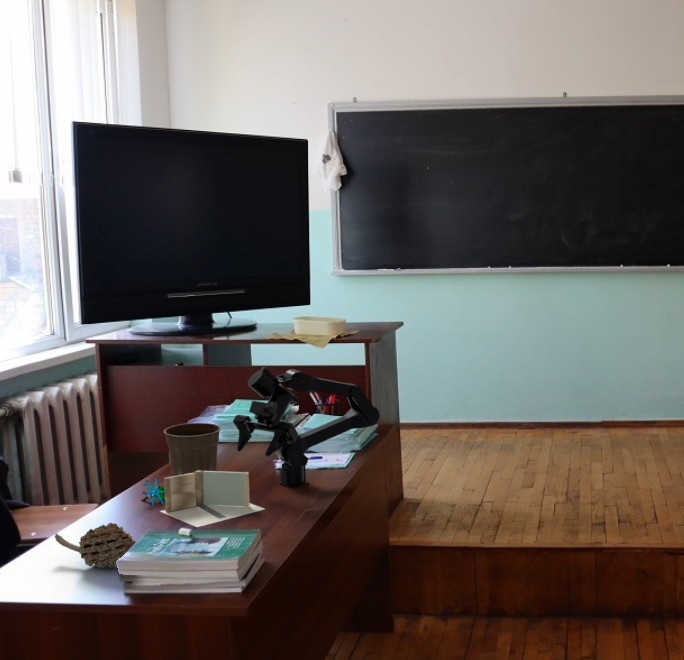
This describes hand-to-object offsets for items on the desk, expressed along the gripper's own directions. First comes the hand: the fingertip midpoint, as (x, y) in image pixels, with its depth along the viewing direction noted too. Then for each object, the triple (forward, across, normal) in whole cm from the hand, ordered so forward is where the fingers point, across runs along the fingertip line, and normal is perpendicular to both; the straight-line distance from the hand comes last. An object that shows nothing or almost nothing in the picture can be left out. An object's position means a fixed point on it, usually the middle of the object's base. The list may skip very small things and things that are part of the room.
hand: (252, 453), depth 262 cm
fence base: (+21, -10, -2) cm, 23 cm away
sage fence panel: (+16, -1, +2) cm, 16 cm away
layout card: (+19, -2, 0) cm, 19 cm away
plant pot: (+6, -23, +13) cm, 27 cm away
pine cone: (+52, -3, -29) cm, 59 cm away
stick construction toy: (+20, -22, +1) cm, 29 cm away
